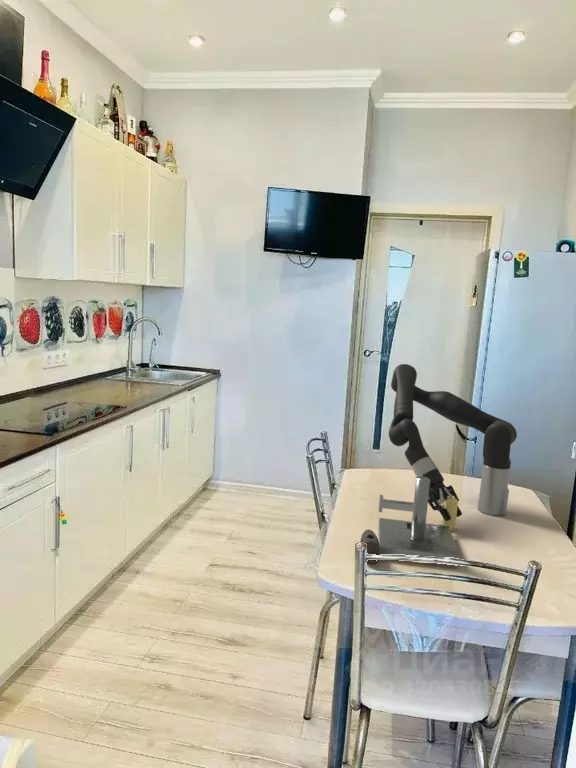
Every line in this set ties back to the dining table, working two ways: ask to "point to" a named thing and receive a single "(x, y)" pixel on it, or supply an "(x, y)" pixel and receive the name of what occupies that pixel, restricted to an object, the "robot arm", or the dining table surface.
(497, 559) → the dining table surface
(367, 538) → the perforated stone tool
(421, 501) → the rosette post
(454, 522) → the yellow rectangular block
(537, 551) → the dining table surface
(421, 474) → the robot arm
